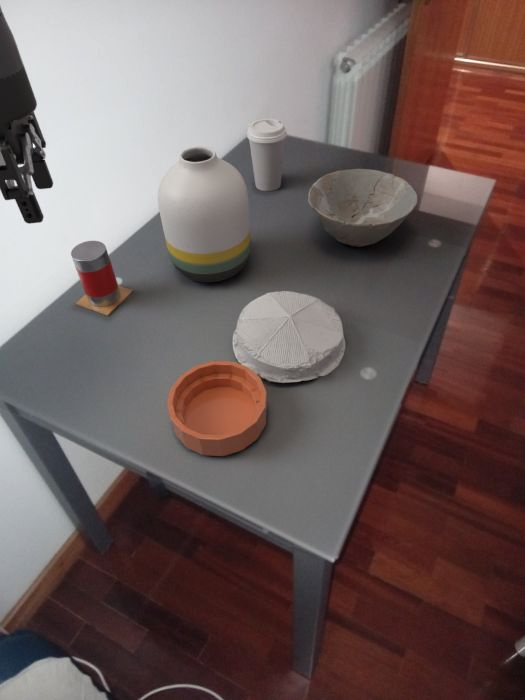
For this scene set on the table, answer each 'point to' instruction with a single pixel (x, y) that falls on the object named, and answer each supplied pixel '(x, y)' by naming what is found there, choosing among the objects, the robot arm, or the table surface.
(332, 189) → the ceramic bowl
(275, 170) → the coffee cup
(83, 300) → the coaster
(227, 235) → the vase
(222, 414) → the dish
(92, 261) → the can
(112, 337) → the table surface
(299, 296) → the white round slab
